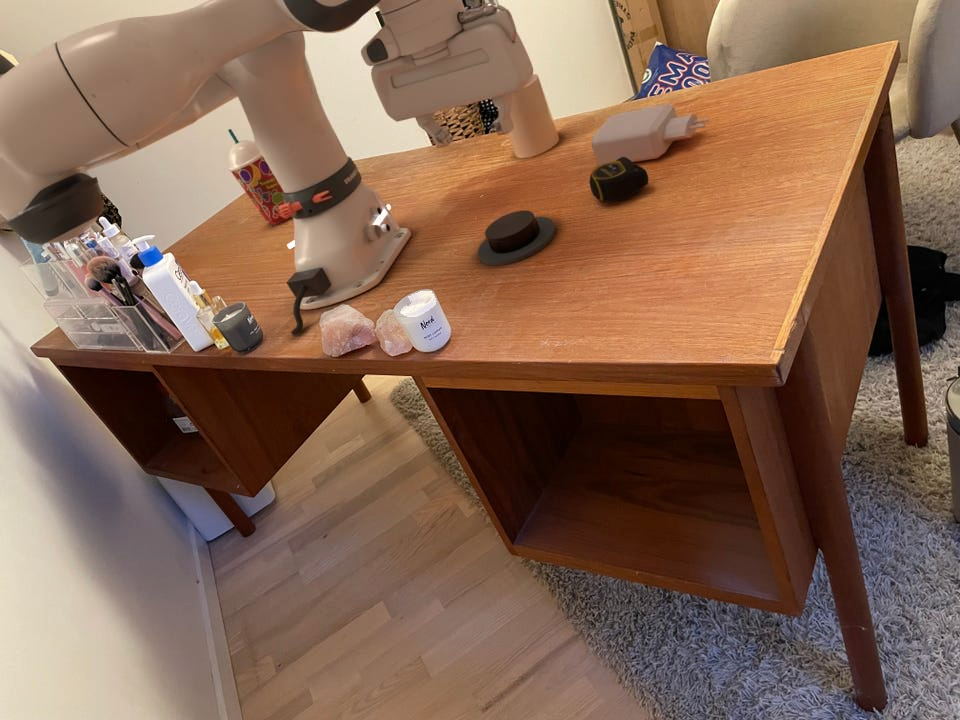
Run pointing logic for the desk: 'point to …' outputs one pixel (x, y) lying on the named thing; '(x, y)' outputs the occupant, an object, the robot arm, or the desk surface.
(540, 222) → the coaster
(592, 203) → the desk surface
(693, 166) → the desk surface
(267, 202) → the smoothie
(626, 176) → the tape measure
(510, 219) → the lid
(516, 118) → the jar
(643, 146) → the charger
